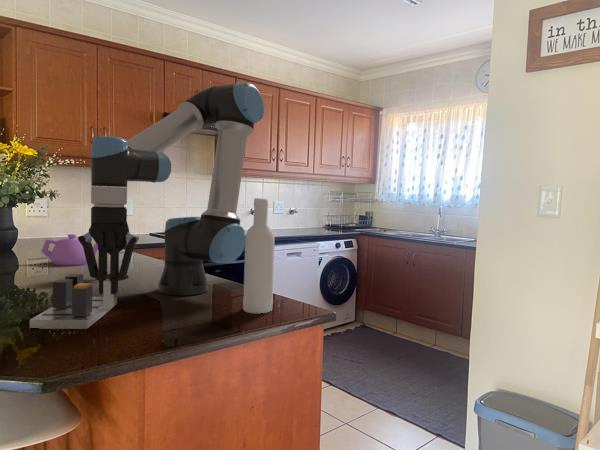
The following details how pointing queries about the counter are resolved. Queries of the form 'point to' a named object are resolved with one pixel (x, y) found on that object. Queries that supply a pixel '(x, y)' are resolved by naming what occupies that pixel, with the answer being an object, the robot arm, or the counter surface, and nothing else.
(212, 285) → the counter surface
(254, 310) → the bottle
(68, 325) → the panel
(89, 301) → the block
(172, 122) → the robot arm
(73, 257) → the teapot
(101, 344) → the counter surface
